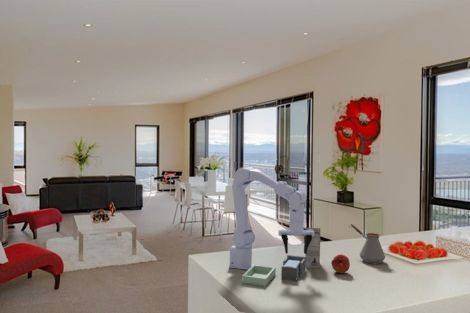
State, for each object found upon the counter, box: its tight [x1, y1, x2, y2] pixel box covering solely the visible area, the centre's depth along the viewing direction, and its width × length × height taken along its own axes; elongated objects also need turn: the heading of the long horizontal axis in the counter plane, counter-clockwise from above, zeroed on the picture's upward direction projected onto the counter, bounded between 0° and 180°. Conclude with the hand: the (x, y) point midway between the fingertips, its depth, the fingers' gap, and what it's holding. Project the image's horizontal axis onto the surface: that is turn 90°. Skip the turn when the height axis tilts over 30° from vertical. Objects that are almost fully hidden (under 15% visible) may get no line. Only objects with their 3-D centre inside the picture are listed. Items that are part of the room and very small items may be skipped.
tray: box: [241, 264, 277, 287], centre depth 166 cm, size 10×16×3 cm, turn 161°
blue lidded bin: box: [280, 260, 300, 282], centre depth 170 cm, size 6×11×6 cm, turn 161°
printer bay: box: [282, 254, 307, 277], centre depth 175 cm, size 8×8×6 cm
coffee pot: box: [348, 224, 386, 265], centre depth 198 cm, size 21×12×15 cm, turn 25°
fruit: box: [331, 254, 351, 274], centre depth 175 cm, size 8×8×8 cm
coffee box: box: [304, 227, 321, 269], centre depth 186 cm, size 9×6×16 cm
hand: (295, 253), depth 169 cm, fingers open, 7 cm apart
